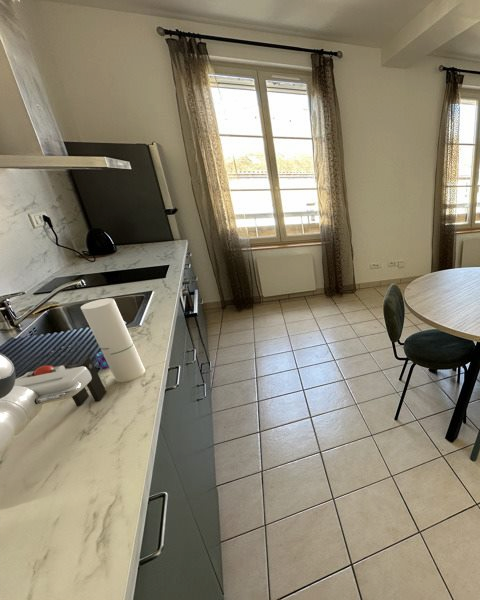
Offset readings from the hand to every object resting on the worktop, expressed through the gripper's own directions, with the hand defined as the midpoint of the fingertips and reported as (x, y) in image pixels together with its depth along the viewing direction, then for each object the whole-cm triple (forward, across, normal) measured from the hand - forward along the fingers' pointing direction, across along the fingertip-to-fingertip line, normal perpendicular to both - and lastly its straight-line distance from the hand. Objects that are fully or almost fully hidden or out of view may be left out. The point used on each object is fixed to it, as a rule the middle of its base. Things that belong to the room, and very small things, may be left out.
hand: (47, 371), depth 76 cm
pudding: (+30, +3, +16) cm, 34 cm away
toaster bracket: (+9, 0, +16) cm, 18 cm away
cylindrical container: (+18, -6, +16) cm, 25 cm away
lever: (+3, 0, +4) cm, 5 cm away
